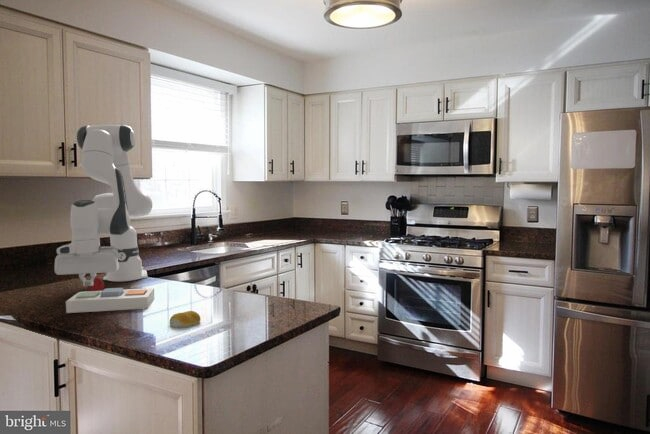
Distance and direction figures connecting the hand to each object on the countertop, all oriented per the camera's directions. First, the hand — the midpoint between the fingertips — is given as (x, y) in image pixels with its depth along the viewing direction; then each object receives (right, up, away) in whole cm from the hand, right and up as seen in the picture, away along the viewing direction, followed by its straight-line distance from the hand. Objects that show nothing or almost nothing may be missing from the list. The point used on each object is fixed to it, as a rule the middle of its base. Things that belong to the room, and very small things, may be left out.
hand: (88, 285), depth 164 cm
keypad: (+8, -7, +2) cm, 11 cm away
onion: (-5, -7, +16) cm, 18 cm away
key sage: (0, -6, 0) cm, 6 cm away
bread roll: (+40, -9, -20) cm, 46 cm away
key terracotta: (+16, -6, +3) cm, 17 cm away
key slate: (+8, -5, +1) cm, 9 cm away
